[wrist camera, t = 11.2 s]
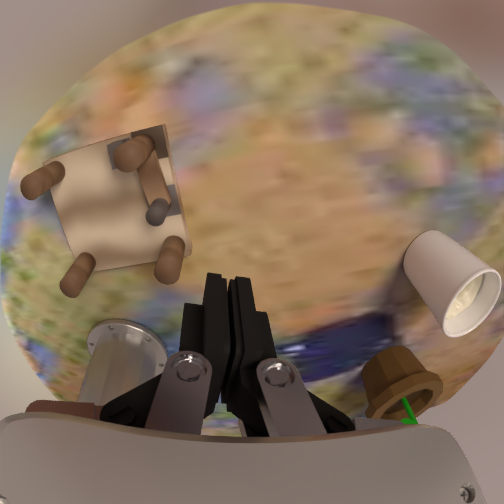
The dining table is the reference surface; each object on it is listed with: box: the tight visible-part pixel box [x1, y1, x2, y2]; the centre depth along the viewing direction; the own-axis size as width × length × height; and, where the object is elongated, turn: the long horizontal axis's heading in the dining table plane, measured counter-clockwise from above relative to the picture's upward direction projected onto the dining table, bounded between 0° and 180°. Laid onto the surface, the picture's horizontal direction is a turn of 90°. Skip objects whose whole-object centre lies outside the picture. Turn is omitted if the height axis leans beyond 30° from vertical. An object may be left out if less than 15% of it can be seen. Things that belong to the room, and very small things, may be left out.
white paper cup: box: [403, 230, 501, 337], centre depth 33 cm, size 10×10×12 cm
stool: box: [20, 124, 192, 298], centre depth 28 cm, size 14×14×8 cm
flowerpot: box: [361, 346, 443, 424], centre depth 37 cm, size 14×14×30 cm
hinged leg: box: [113, 134, 172, 226], centre depth 25 cm, size 8×2×6 cm, turn 13°
